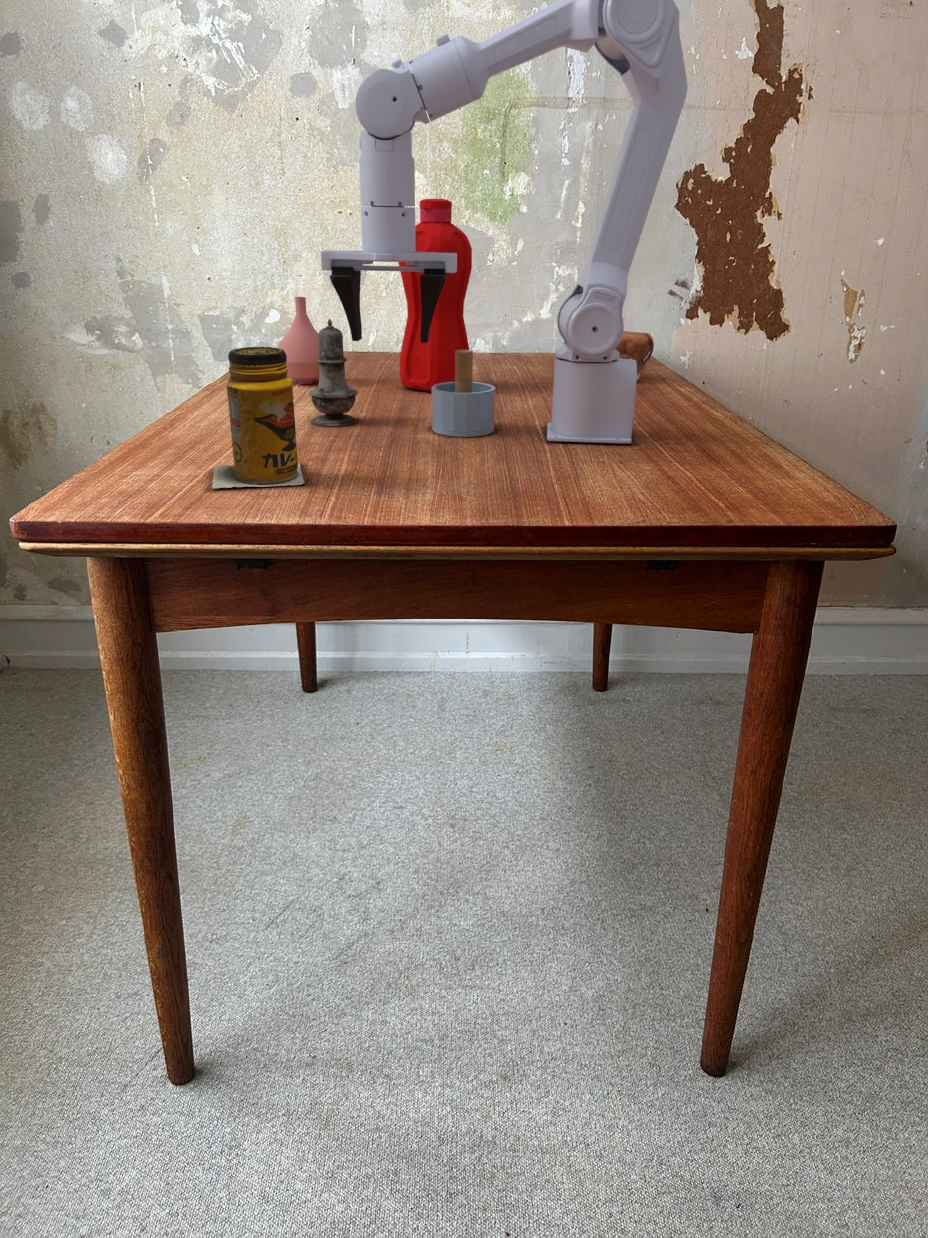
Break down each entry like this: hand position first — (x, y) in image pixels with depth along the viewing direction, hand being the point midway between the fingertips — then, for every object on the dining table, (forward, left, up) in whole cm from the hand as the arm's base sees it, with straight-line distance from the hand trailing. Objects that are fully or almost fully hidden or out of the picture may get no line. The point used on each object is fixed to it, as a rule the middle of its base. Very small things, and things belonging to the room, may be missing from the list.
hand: (390, 340), depth 99 cm
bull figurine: (-28, -43, -11) cm, 52 cm away
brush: (-8, -3, -10) cm, 13 cm away
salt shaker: (+8, -5, -11) cm, 14 cm away
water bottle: (-2, -30, -11) cm, 32 cm away
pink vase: (+18, -30, -11) cm, 37 cm away
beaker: (-8, -3, -10) cm, 13 cm away
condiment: (+10, +20, -11) cm, 25 cm away
